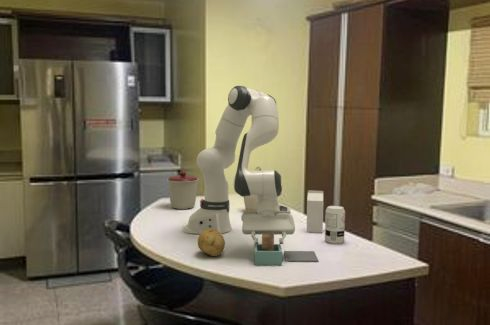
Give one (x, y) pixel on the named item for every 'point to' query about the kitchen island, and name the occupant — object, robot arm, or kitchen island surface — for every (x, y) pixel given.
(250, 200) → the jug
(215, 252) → the potato
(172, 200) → the canister
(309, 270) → the kitchen island surface
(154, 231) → the kitchen island surface
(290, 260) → the mat
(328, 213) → the supplement can
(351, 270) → the kitchen island surface
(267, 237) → the walnut peg
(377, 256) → the kitchen island surface
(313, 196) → the milk carton
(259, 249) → the tub
